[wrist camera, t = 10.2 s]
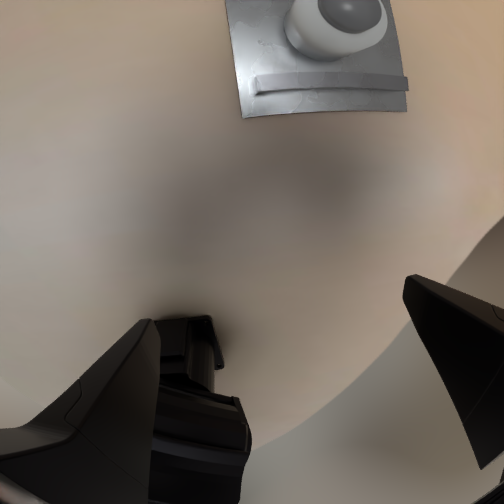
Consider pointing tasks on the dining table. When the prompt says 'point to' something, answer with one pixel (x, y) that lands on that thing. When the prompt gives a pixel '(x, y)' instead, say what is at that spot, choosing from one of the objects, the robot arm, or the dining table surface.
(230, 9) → the cradle
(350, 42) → the grey capped cylinder
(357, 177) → the dining table surface
